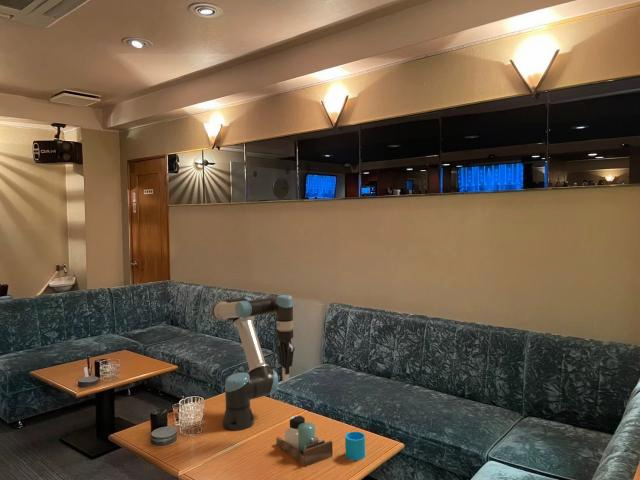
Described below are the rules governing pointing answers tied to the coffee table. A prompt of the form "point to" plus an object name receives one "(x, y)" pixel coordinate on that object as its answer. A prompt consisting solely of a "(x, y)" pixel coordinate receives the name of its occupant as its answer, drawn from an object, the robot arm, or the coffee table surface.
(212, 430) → the coffee table surface
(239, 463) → the coffee table surface
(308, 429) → the capsule
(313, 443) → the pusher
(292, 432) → the container
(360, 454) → the mug
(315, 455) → the frame
